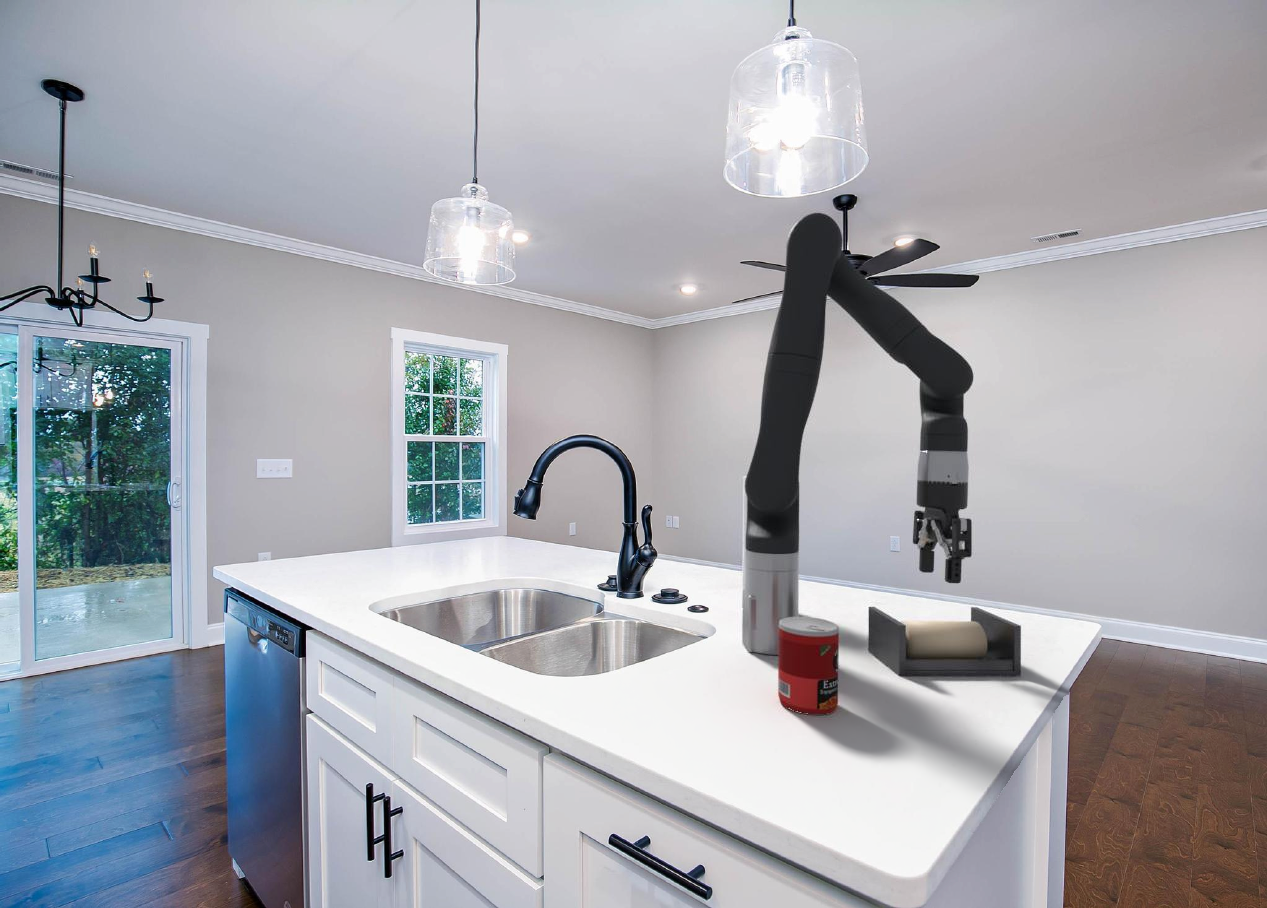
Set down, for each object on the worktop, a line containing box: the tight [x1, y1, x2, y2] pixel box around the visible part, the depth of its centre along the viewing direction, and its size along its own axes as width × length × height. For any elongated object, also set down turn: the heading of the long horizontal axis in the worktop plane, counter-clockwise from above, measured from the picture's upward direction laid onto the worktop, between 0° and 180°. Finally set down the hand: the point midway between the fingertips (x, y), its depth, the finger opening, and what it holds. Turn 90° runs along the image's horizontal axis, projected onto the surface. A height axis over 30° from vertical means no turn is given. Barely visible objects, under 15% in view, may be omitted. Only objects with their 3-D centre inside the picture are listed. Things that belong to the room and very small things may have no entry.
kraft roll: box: [900, 620, 987, 659], centre depth 102 cm, size 14×6×6 cm, turn 91°
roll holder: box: [867, 606, 1022, 677], centre depth 101 cm, size 19×12×8 cm, turn 91°
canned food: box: [777, 616, 840, 715], centre depth 84 cm, size 8×8×11 cm
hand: (939, 577), depth 102 cm, fingers open, 8 cm apart
